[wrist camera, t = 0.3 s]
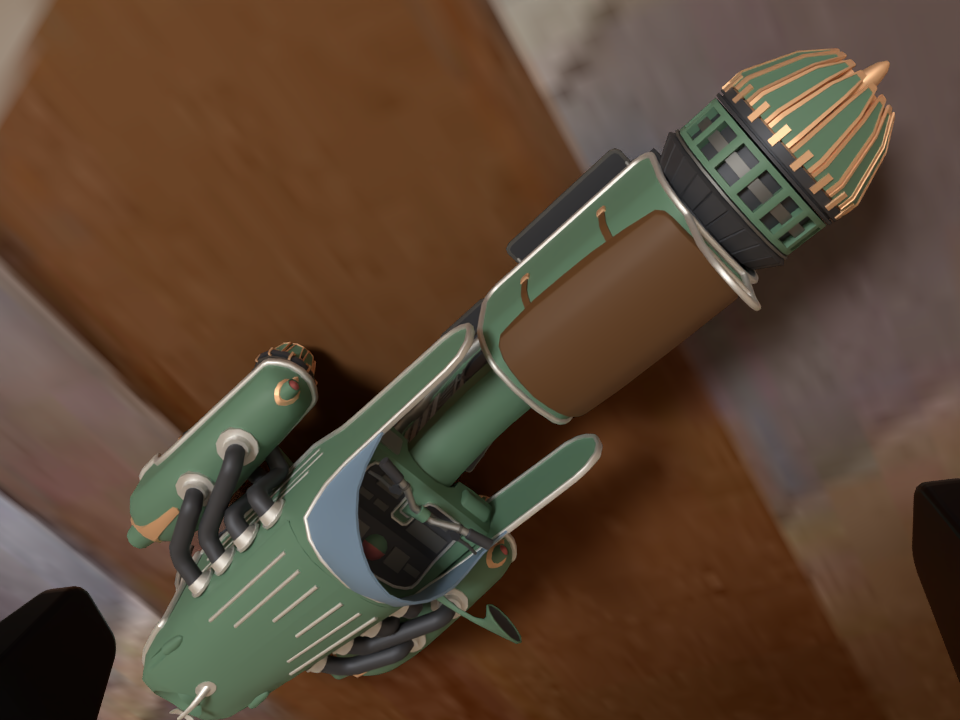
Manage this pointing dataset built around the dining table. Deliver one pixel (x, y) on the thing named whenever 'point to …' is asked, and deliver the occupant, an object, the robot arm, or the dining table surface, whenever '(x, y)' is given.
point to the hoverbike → (482, 399)
